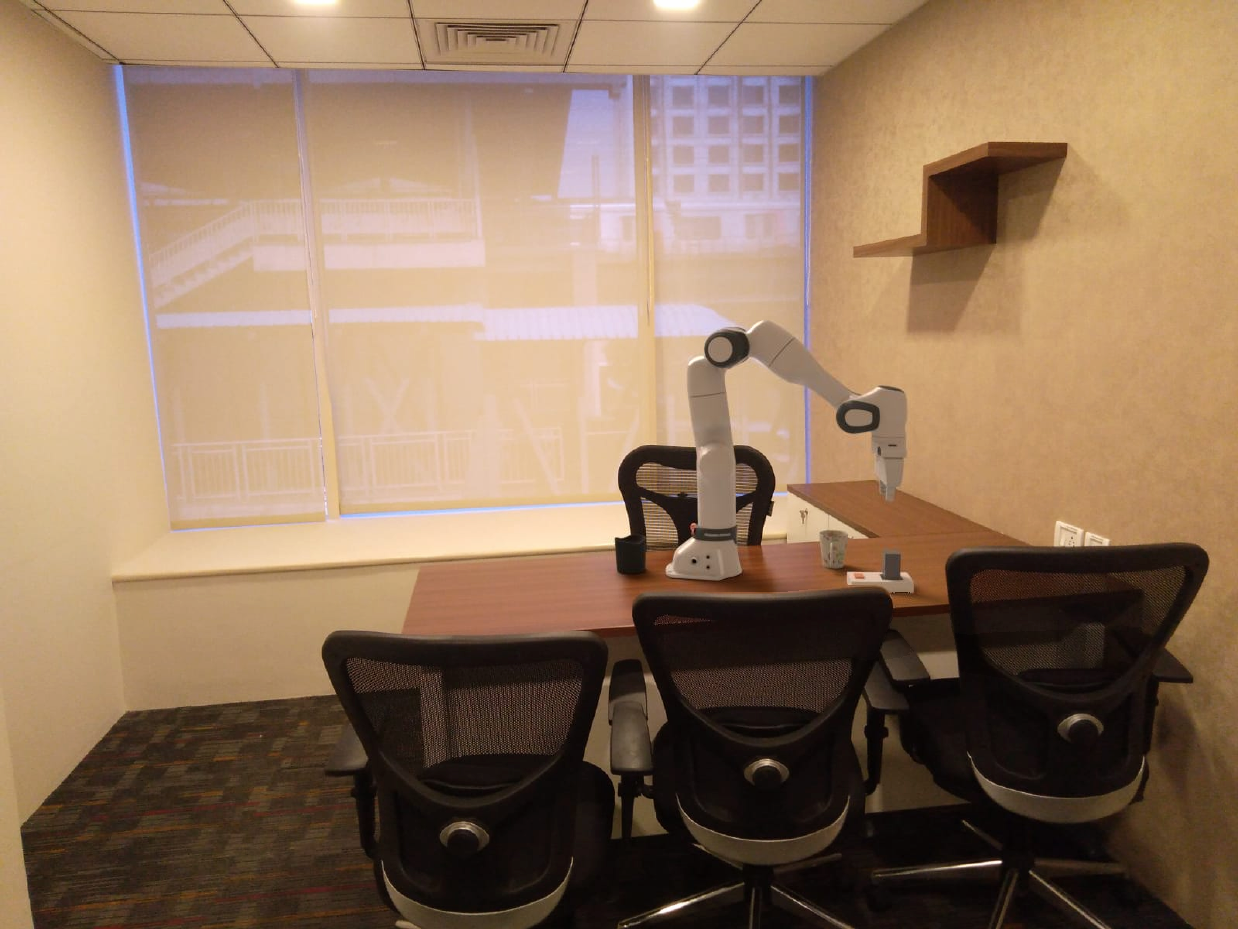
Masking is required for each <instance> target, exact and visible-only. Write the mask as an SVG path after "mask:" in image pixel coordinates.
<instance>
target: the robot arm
mask: <svg viewBox="0 0 1238 929" xmlns="http://www.w3.org/2000/svg"><path fill="white" fill-rule="evenodd" d="M703 351H704V354H702V355H698V356H695V357H694V358H692V359H691V360H690V361H689V362H688V364H687V367H686V368H687V370H686V390H687V391H686V392H687V397H688V398H687V399H688V406H689V412H690V413H689V414H690V420H691V422H690V423H691V426H692V431H693V432H692V434H693V438H694V445H695V451H696V486H697V488H696V489H697V490H696V491H697V523H694V522H693V523H691V525H690V527H689V528H690V531H691V532H690V534H691V537H689V539H688V540H686V541H684V542H683V543H682V544H680V546H678V548H676V550H675V551H674V553H673V558H672V562H670V563H669V564H667V565H666V568H665V574H666V576H668V577H669V578H675V579H690V580H705V581H721V580H724V579H726V578H733V577H736V576H738V575H740V574H742V573H743V570H742V567H741V563H740V558H739V553H738V552H739V551H738V541H739V530H738V524H737V519H736V518H737V516H736V515H737V514H736V513H737V511H736V507H737V506H736V505H737V502H736V496H737V495H736V493H737V492H736V488H737V487H736V482H737V478H736V477H737V476H736V475H737V473H736V472H737V471H736V469H737V468H736V467H737V466H736V465H737V462H736V454H735V449H734V442H733V441H734V440H733V434H732V426H731V425H732V424H731V417H730V416H731V415H730V410H729V402H728V396H727V395H728V394H727V386H726V380H725V379H726V378H725V376H726V372H727V370H730V369H732V368H734V367H736V366H737V367H738V366H739V365H740V364H742V363H744V362H746V361H747V360H748V359H749V358H753V359H756V360H758V362H760V363H762V364H763V365H764V366H765V367H766V368H767V369H768V370H769V371H770V372H772V373H773V374H774V375H775V376H777V377H778V378H780V379H782V380H784V381H785V382H787V383H789V384H794V385H800V386H803V387H806V388H807V389H810V390H812V391H813V392H815V393H816V394H817V395H818V396H819V397H821V398H822V399H823V400H824V401H826V402H827V403H828V404H829V405H830V406H832V407H833V408H834V409H835V410H836V413H835V421H836V424H837V426H838V427H839V429H840V430H841V431H842V432H845V433H847V434H850V435H858V434H862V433H868V432H870V433H871V437H870V438H871V439H870V440H871V441H870V453H871V454H874V475H875V476H876V477H877V478H878V486H879V494H880V495H881V496H882V495H883V496H885V501H886V502H889V503H890V502H891V503H892V502H893V501H894V500H895V499H894V498H895V493H896V488H900V487H901V485H902V482H903V475H904V465H905V458H907V455H908V452H907V432H906V424H907V421H908V399H907V394H906V392H905V391H904V390H902V389H901V388H898V387H894V386H890V385H883V384H882V385H877V386H876V387H875V388H873V389H871V390H869V391H867V392H865V393H863V394H861V393H856V392H854V391H851V390H850V389H849V388H847V387H846V386H845V385H843V384H842V383H841V382H840V381H839V380H837V379H836V378H835V377H834V376H832V375H831V374H830V373H828V372H827V370H825V368H824V367H823V366H822V365H821V364H820V362H819V361H818V360H817V359H816V357H814V355H813V354H812V353H811V351H810V350H809V349H808V348H807V347H806V346H805V345H804V343H802V342H801V341H800V340H799V339H798V338H796V336H794V335H793V334H792V333H790V332H789V331H788V330H787V329H784V328H783V327H782V326H780V325H779V324H777V323H775V322H774V321H771V320H769V319H762V320H759V321H758V322H756V323H754V324H753V325H752V326H751V327H750V328H749V329H748V330H746V329H744V328H742V327H739V326H727V327H723V328H721V329H717V330H715V331H713V332H712V333H711V334H710V335H709V336H708V337H707V338H706V340H705V343H704V348H703Z"/></svg>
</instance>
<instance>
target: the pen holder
mask: <svg viewBox="0 0 1238 929" xmlns="http://www.w3.org/2000/svg"><path fill="white" fill-rule="evenodd" d="M646 541H647V536H645V535H641V534H629V535H627V536H624V537H618V536H617V537H614V551H615V563H616V570H617V572H619V573H621V574H626V575H634V574H640V573H643V572H644V571H645V570H646V566H647V565H646V563H647V562H646V560H647V559H646V557H647V556H646V555H647V554H646V553H647V547H646V546H647V542H646Z"/></svg>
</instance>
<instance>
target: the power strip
mask: <svg viewBox="0 0 1238 929" xmlns="http://www.w3.org/2000/svg"><path fill="white" fill-rule="evenodd" d="M846 584H847V586H848V585H877V586H882V587H884V588H885V589H887V590H888V591H889V592H890V594H896V593H895V592H908V593H907V594H914V592H915V586H914V585H915V581H914V580H913V579H912V577H911V576H910V575H909V573H908V572H907V571H906V572H905V571H904V572H901V571H900V580H882V571H881V572H880V571H873V572H872V571H847V572H846ZM892 592H893V593H892ZM909 592H910V593H909Z"/></svg>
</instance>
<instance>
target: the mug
mask: <svg viewBox="0 0 1238 929" xmlns="http://www.w3.org/2000/svg"><path fill="white" fill-rule="evenodd" d="M818 536H819V538H818V539H819V546H820V552H821V553H820V554H821V560H822V566H823V567H824V568H827V569H841V568H844V566H845V559H846V552H847V546H848V539H849V537H848V536H849V533H848V532H846V531H845V530H839V529H838V530H837V529H828V530H821V531H819V532H818Z"/></svg>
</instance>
